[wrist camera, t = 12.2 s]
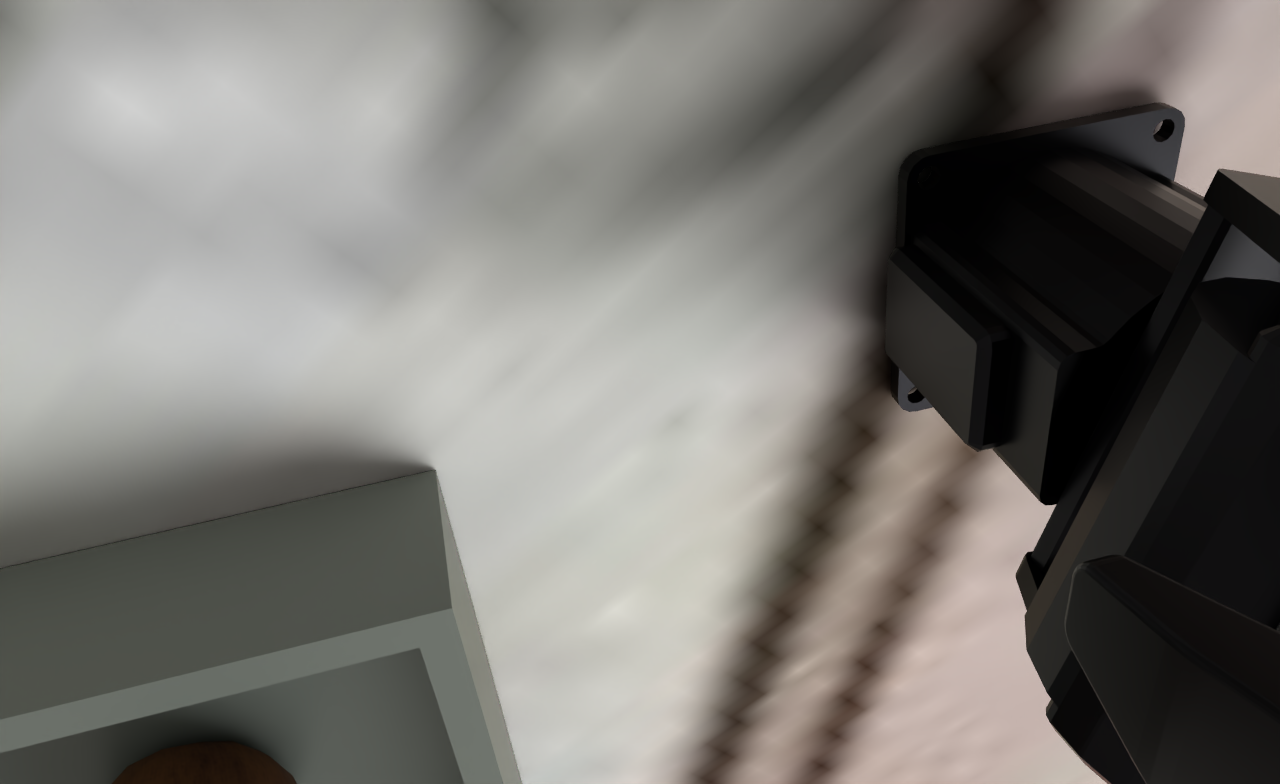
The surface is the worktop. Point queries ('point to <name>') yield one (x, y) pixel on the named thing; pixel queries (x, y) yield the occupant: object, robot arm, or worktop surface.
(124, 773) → the wooden figurine
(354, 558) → the tote
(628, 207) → the worktop surface
